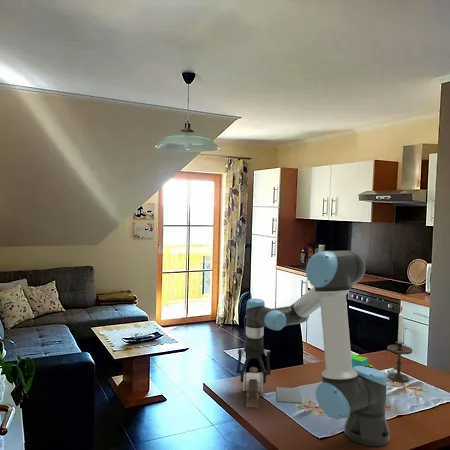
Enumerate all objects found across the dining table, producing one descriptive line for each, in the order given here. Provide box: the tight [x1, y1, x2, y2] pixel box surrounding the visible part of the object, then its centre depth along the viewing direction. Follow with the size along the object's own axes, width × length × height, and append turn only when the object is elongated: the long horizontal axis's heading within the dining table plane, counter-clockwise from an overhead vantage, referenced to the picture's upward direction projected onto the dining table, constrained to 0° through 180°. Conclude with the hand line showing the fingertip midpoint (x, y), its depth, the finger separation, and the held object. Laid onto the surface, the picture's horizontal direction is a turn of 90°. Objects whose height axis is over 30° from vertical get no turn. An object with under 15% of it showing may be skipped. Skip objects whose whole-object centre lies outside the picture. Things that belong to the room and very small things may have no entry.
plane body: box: [245, 366, 260, 408], centre depth 184 cm, size 26×5×10 cm, turn 176°
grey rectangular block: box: [245, 372, 261, 392], centre depth 184 cm, size 9×6×4 cm, turn 176°
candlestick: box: [386, 305, 413, 383], centre depth 204 cm, size 11×11×35 cm
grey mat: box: [275, 386, 303, 404], centre depth 183 cm, size 14×10×1 cm
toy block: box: [351, 353, 374, 369], centre depth 206 cm, size 10×13×10 cm
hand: (252, 389), depth 184 cm, fingers open, 7 cm apart
